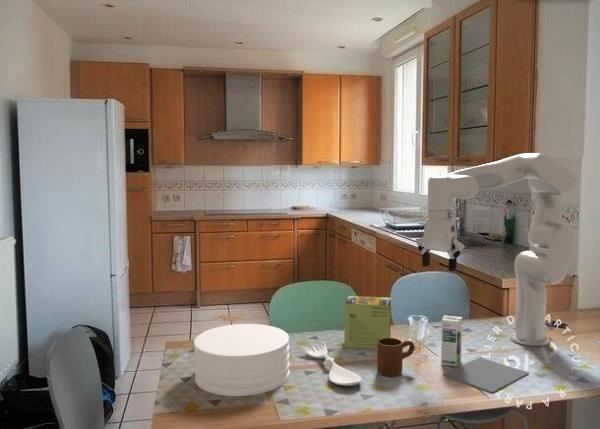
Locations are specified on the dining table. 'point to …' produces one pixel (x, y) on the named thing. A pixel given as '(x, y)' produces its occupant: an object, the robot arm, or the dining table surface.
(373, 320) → the protein box
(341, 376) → the spoon
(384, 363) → the mug
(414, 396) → the dining table surface
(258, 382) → the plate stack
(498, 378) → the rubber mat
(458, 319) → the syrup box
